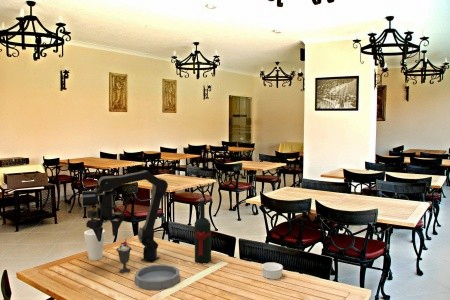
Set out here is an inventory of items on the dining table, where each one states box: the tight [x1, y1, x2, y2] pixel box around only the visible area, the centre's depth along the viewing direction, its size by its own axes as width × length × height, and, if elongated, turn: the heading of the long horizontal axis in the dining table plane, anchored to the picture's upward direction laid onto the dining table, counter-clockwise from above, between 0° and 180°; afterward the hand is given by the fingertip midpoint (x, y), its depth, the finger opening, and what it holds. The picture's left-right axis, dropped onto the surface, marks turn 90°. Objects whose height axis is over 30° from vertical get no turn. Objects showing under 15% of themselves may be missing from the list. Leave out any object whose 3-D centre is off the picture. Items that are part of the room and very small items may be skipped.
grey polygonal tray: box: [134, 264, 181, 291], centre depth 160 cm, size 18×18×3 cm
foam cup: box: [83, 229, 106, 261], centre depth 187 cm, size 10×9×13 cm
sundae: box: [115, 238, 132, 274], centre depth 170 cm, size 7×7×15 cm
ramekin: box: [261, 262, 284, 280], centre depth 164 cm, size 9×9×4 cm
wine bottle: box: [193, 197, 212, 265], centre depth 180 cm, size 8×10×30 cm
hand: (106, 238), depth 174 cm, fingers open, 9 cm apart
